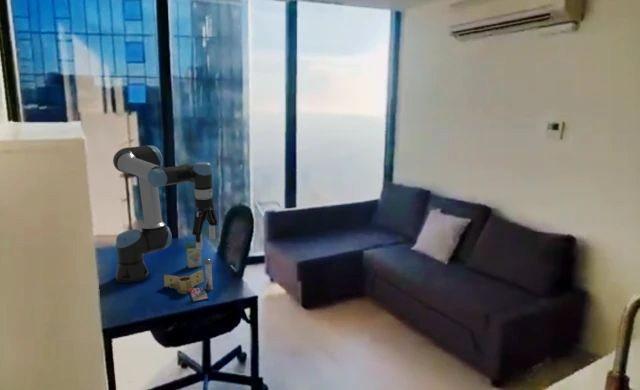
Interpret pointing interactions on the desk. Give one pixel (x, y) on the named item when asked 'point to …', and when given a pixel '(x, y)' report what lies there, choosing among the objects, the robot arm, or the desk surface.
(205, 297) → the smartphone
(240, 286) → the desk surface
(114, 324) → the desk surface
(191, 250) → the ink box
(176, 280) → the hinge
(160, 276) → the desk surface
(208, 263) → the pin
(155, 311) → the desk surface
